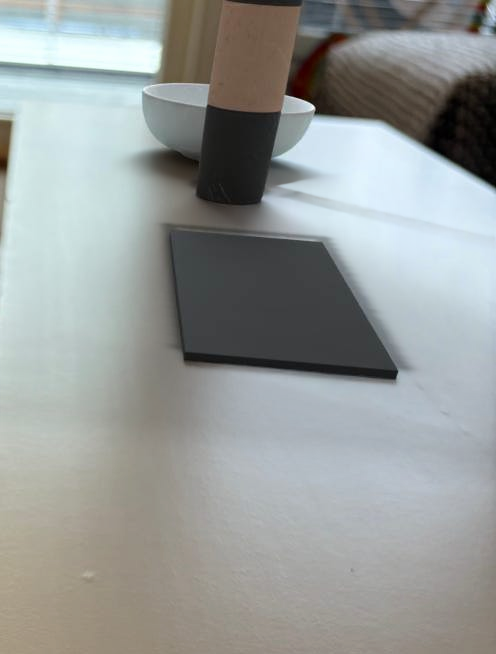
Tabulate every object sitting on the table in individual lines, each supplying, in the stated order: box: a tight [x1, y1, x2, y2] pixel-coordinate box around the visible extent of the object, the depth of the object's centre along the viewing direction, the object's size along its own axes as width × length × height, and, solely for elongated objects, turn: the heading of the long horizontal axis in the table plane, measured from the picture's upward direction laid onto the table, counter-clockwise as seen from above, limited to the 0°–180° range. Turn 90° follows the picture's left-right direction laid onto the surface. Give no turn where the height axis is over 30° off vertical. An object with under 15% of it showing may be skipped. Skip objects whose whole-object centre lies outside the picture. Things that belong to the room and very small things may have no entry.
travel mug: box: [195, 0, 303, 205], centre depth 99 cm, size 8×8×20 cm
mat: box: [168, 229, 399, 380], centre depth 77 cm, size 32×14×1 cm, turn 174°
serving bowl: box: [141, 82, 316, 162], centre depth 120 cm, size 21×21×7 cm
